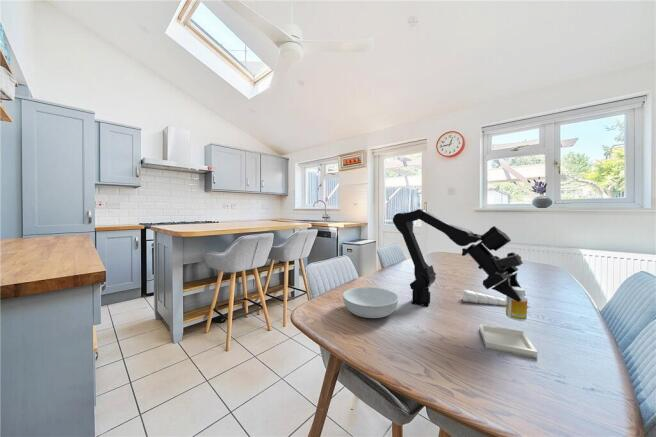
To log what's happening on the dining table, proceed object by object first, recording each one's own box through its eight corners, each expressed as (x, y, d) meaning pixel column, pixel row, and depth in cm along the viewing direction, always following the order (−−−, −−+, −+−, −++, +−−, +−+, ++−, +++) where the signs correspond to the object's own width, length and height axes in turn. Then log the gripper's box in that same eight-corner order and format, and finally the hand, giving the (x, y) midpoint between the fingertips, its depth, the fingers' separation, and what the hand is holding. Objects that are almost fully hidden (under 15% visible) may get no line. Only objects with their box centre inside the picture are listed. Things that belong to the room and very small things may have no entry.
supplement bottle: (530, 320, 78) (532, 290, 77) (517, 322, 77) (518, 291, 76) (514, 313, 83) (516, 285, 82) (501, 314, 82) (502, 286, 81)
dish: (485, 348, 70) (485, 342, 70) (479, 329, 80) (479, 324, 80) (537, 358, 65) (537, 351, 65) (523, 337, 75) (523, 331, 75)
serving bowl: (407, 311, 94) (408, 294, 94) (379, 332, 79) (379, 311, 78) (363, 298, 108) (363, 282, 108) (331, 313, 93) (331, 295, 93)
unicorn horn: (533, 311, 94) (534, 299, 94) (463, 303, 103) (463, 291, 103) (529, 307, 98) (529, 295, 98) (462, 299, 107) (462, 288, 107)
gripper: (496, 248, 75) (540, 293, 68) (512, 242, 87) (551, 279, 80) (467, 268, 82) (505, 311, 74) (486, 260, 94) (520, 296, 86)
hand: (522, 298), depth 78 cm, fingers closed on supplement bottle, 5 cm apart
